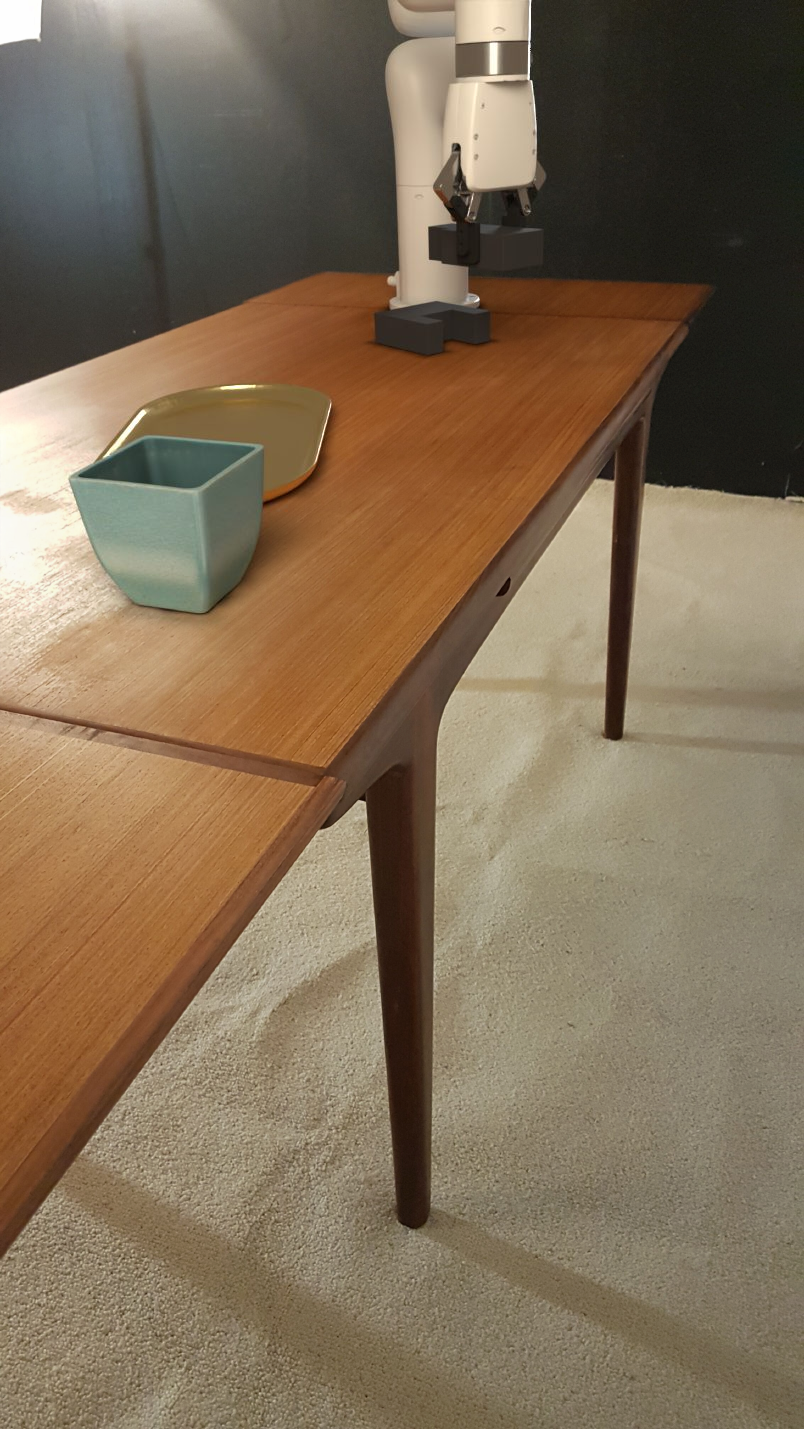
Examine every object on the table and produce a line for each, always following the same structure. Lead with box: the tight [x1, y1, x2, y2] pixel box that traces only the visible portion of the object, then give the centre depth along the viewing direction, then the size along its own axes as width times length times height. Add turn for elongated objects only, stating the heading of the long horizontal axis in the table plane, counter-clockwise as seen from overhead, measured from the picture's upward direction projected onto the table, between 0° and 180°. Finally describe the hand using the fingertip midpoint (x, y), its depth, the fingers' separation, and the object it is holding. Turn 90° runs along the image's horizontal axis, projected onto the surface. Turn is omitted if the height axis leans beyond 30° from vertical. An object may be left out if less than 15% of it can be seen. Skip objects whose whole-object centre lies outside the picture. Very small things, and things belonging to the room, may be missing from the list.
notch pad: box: [373, 301, 491, 356], centre depth 125 cm, size 10×10×4 cm
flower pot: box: [67, 435, 264, 614], centre depth 64 cm, size 9×9×9 cm
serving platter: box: [93, 382, 332, 504], centre depth 91 cm, size 19×35×2 cm, turn 179°
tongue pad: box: [428, 223, 545, 272], centre depth 114 cm, size 14×6×4 cm, turn 39°
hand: (491, 256), depth 113 cm, fingers closed on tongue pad, 6 cm apart
